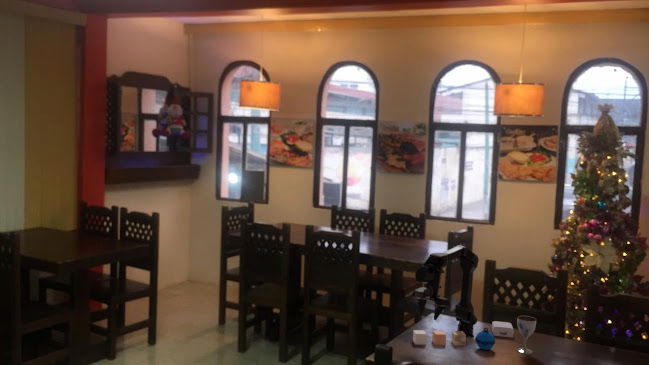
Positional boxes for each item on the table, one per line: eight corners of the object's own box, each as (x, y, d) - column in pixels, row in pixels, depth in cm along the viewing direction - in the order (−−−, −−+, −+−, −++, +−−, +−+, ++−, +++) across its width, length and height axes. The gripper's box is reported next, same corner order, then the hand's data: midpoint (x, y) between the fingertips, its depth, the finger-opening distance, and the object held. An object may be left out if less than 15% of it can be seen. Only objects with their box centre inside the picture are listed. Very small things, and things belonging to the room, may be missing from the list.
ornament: (494, 347, 275) (495, 326, 274) (494, 354, 267) (495, 331, 266) (474, 344, 278) (476, 323, 277) (474, 351, 269) (475, 329, 268)
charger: (509, 328, 305) (513, 338, 290) (490, 326, 306) (493, 336, 292) (510, 319, 304) (513, 328, 290) (491, 317, 306) (493, 326, 291)
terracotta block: (442, 341, 281) (443, 330, 280) (445, 345, 276) (446, 334, 275) (432, 341, 280) (432, 330, 280) (434, 345, 275) (435, 334, 275)
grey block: (423, 340, 280) (424, 330, 280) (426, 344, 275) (426, 334, 275) (412, 340, 280) (413, 330, 279) (415, 344, 275) (415, 333, 274)
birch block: (461, 341, 281) (462, 331, 281) (465, 345, 276) (465, 334, 276) (451, 341, 281) (451, 331, 281) (454, 345, 276) (454, 334, 276)
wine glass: (533, 349, 275) (536, 317, 274) (533, 355, 267) (536, 322, 266) (515, 346, 278) (517, 314, 276) (514, 352, 270) (517, 319, 269)
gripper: (406, 276, 273) (400, 311, 272) (435, 285, 257) (428, 322, 257) (424, 278, 279) (418, 312, 278) (453, 287, 263) (447, 323, 263)
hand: (427, 317), depth 269 cm, fingers open, 9 cm apart
